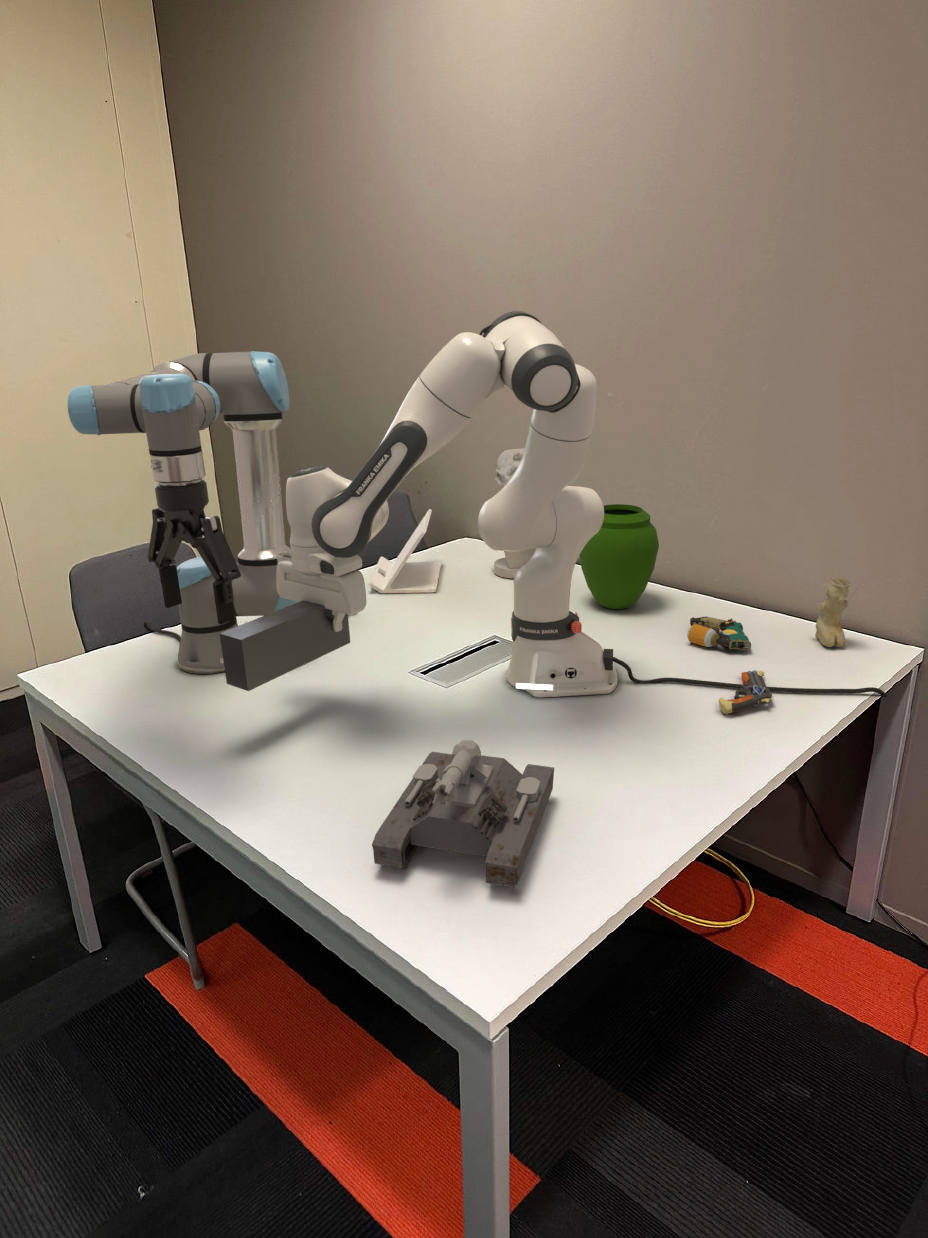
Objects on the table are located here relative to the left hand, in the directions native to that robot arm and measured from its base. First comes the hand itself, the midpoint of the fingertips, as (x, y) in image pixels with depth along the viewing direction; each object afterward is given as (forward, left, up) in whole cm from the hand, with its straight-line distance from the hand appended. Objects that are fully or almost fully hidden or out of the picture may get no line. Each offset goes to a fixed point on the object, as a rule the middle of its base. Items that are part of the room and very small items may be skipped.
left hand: (199, 613), depth 136 cm
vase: (-37, +102, -28) cm, 112 cm away
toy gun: (+18, +96, -28) cm, 101 cm away
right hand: (-14, +23, -11) cm, 29 cm away
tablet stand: (-82, +63, -28) cm, 107 cm away
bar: (-10, +15, -15) cm, 24 cm away
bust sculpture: (-70, +93, -28) cm, 119 cm away
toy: (+36, +31, -28) cm, 55 cm away
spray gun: (-7, +110, -28) cm, 114 cm away
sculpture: (+5, +130, -28) cm, 133 cm away
